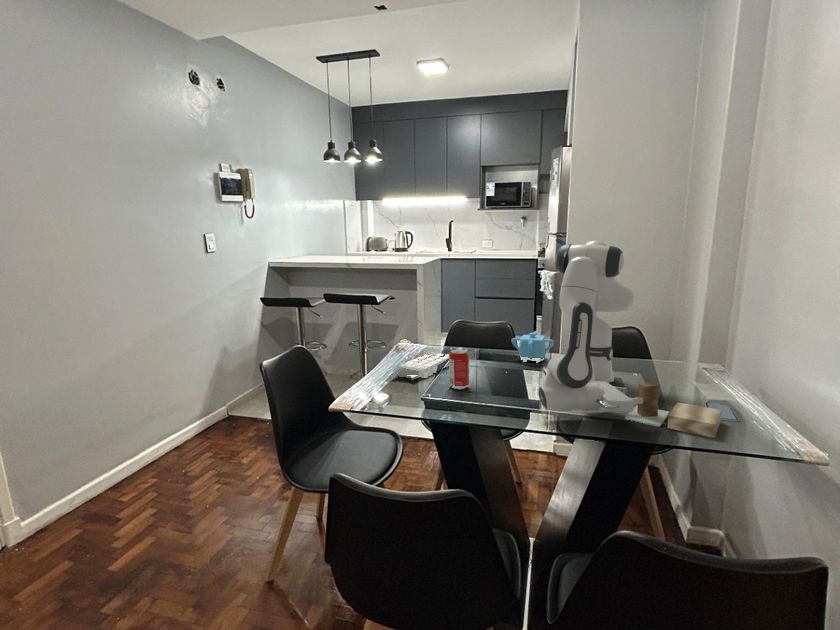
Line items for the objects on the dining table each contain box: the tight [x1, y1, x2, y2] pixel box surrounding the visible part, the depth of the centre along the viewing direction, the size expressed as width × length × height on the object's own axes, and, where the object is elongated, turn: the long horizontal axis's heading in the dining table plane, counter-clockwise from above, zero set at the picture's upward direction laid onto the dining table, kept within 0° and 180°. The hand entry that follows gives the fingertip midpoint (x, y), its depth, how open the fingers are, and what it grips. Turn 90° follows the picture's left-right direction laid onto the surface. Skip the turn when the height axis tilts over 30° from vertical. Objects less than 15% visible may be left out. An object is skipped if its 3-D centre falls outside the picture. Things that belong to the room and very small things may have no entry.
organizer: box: [399, 352, 449, 378], centre depth 204 cm, size 13×5×35 cm
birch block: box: [666, 401, 722, 439], centre depth 137 cm, size 12×14×4 cm
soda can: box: [448, 348, 470, 386], centre depth 178 cm, size 8×8×15 cm
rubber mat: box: [624, 404, 670, 428], centre depth 145 cm, size 10×14×1 cm
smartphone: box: [703, 401, 740, 423], centre depth 147 cm, size 7×1×15 cm
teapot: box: [511, 330, 555, 359], centre depth 219 cm, size 18×16×14 cm
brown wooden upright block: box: [637, 382, 660, 417], centre depth 145 cm, size 5×3×10 cm, turn 91°
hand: (634, 395), depth 144 cm, fingers open, 8 cm apart
